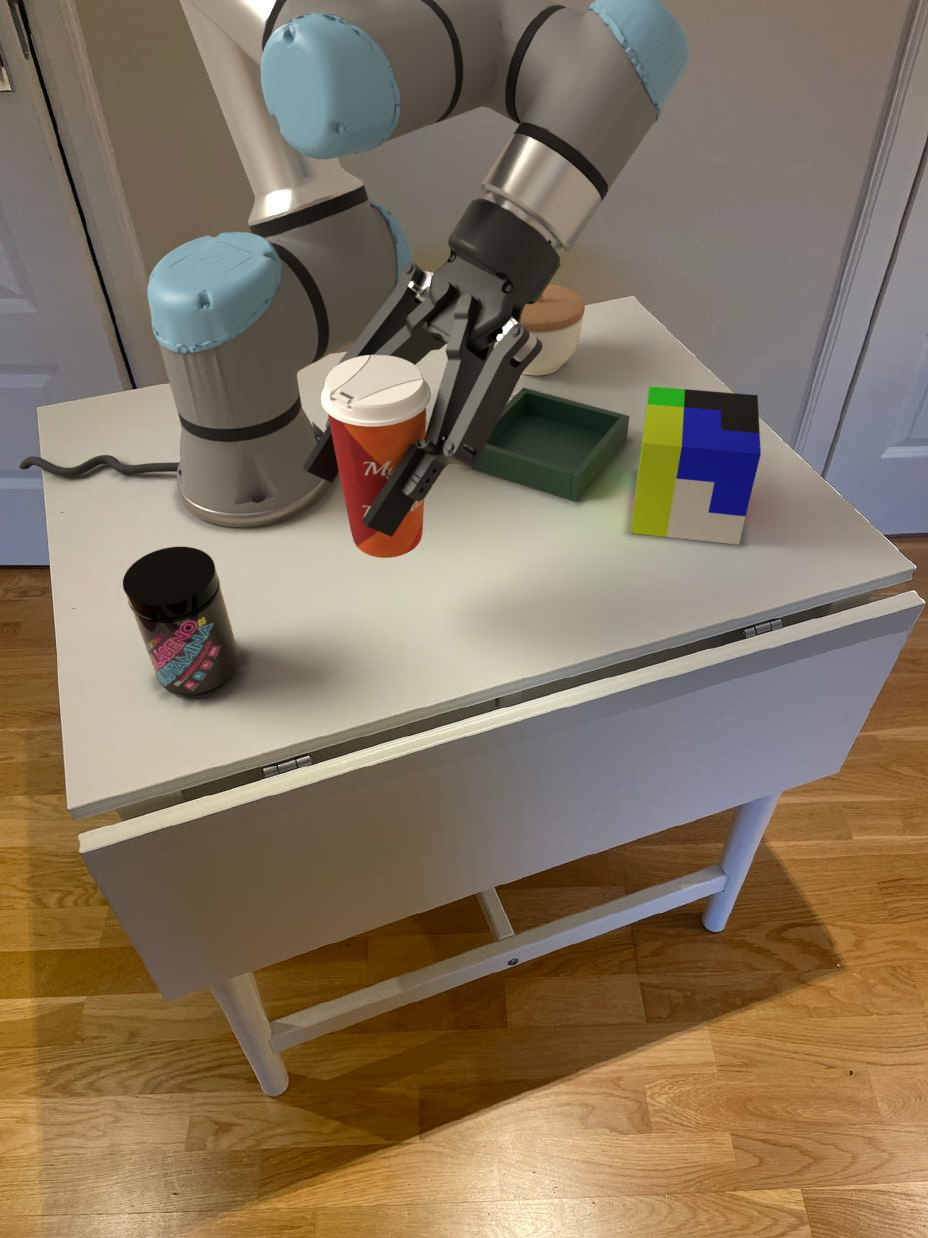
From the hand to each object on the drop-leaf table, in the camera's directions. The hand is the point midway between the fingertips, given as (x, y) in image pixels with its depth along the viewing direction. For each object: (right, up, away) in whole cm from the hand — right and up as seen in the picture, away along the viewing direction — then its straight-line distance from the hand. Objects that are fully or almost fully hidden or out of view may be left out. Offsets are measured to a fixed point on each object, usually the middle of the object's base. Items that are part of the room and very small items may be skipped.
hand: (346, 501), depth 67 cm
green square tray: (+18, +9, +29) cm, 35 cm away
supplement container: (-13, -13, +7) cm, 20 cm away
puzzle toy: (+30, +2, +22) cm, 38 cm away
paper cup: (+3, -2, +5) cm, 6 cm away
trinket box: (+18, +22, +43) cm, 52 cm away
